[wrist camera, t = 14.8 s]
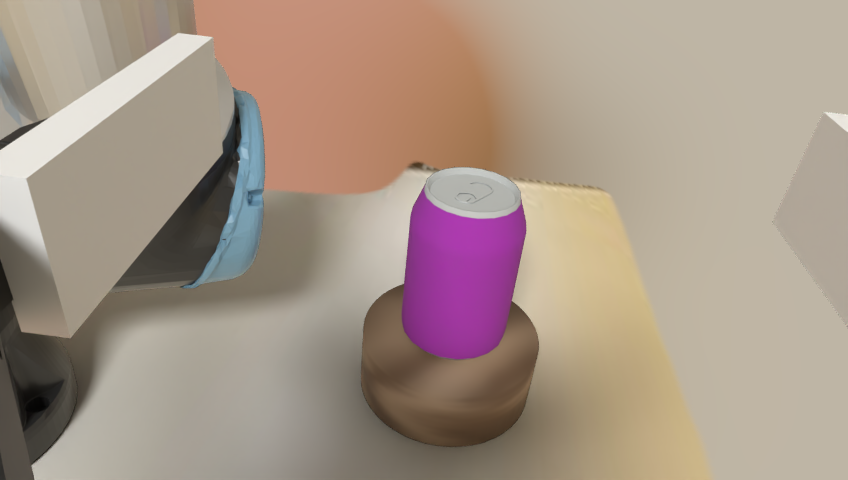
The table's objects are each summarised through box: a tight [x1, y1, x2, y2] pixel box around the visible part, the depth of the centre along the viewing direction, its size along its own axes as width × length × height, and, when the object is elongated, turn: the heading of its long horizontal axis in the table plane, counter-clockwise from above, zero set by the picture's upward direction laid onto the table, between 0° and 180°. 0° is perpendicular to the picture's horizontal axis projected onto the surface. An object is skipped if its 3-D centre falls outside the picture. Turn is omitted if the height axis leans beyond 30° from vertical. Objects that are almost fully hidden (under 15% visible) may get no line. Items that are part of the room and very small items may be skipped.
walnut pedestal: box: [361, 284, 539, 447], centre depth 49 cm, size 13×13×5 cm
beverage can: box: [401, 167, 526, 360], centre depth 44 cm, size 8×8×12 cm
